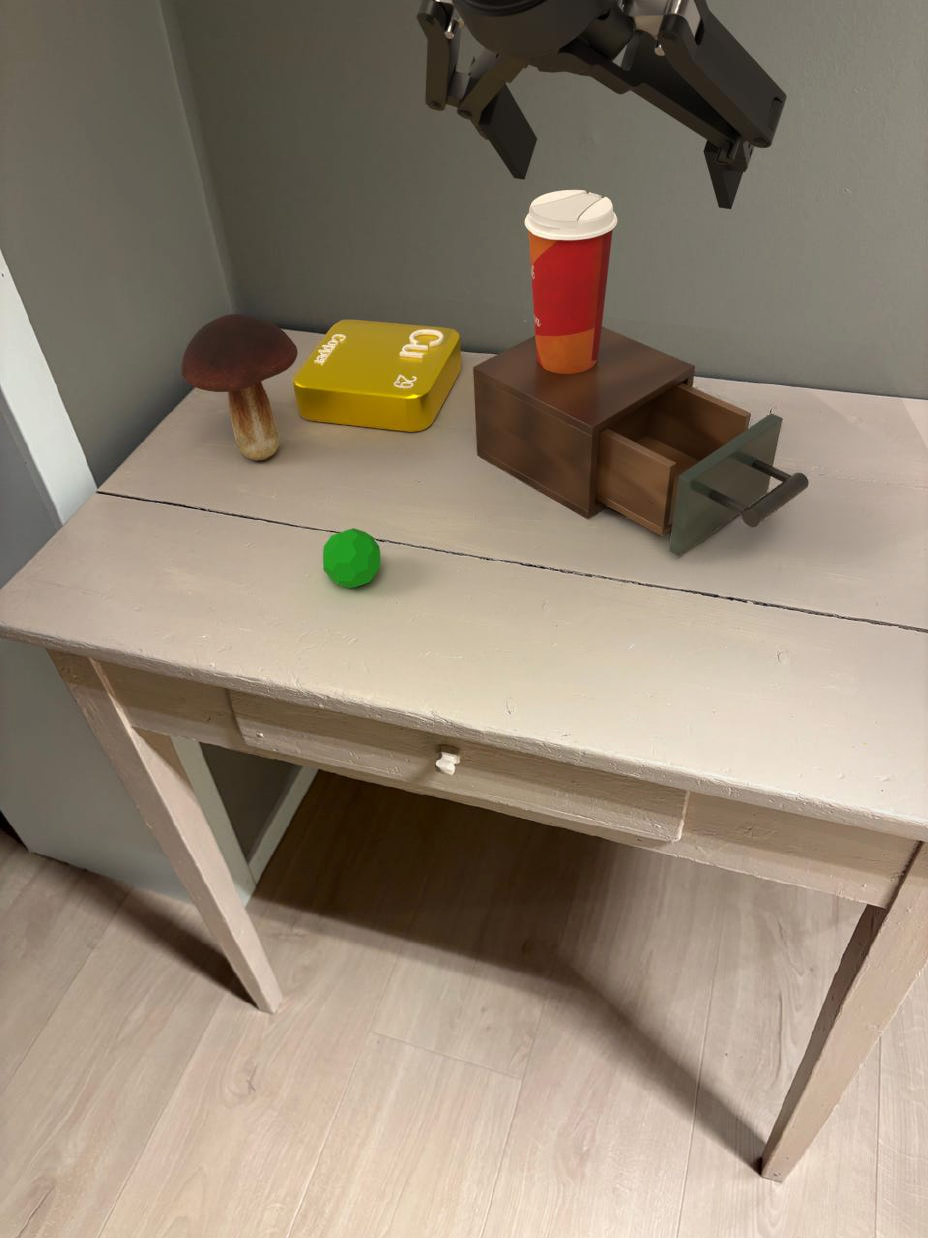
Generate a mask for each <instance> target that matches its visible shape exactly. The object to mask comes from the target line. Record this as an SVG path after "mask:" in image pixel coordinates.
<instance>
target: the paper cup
mask: <svg viewBox="0 0 928 1238" xmlns="http://www.w3.org/2000/svg"><path fill="white" fill-rule="evenodd" d="M617 224H618V217H617V215H616V213H615V212H614V205H613V203H612V200H611V199H610V198H609V197H607V196H604V197H602V195H601V194H597V193H594V192H588V193H587V191H586V190H582V189H565V190H564V189H563V190H556V191H552V192H548V193H544V194H542V195H540V196H538V197H536V198H535V199H533V201H531V204H530V206H529V210H528V214H526V217H525V218H524V226H525V228H526V229H527V230H528V241H529V242H528V243H529V244H528V245H529V257H530V260H529V261H530V275H531V276H530V277H531V291H532V292H531V293H532V307H533V309H532V310H533V321H534V336H535V340H536V352H537V360H538V363H539V365H540V366H541V367H543V368H544V369H546V370H548V371H551V372H554V373H560V374H574V373H580V372H583V371H586V370H588V369H590V368H592V367H593V366H594V365H595V364H596V362H597V358H598V352H599V345H600V337H601V328H602V327H603V320H604V310H605V302H606V301H605V300H606V293H607V285H608V275H609V265H610V259H611V258H610V256H611V247H612V241H613V231H614V228H615V227H616V226H617Z"/></svg>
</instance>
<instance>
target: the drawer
mask: <svg viewBox="0 0 928 1238" xmlns="http://www.w3.org/2000/svg"><path fill="white" fill-rule="evenodd" d="M751 417H752V413H751V412H750V411H747V410H745V409H742V408H740V407H738V406H736V405H734V404H731V403H730V402H727V401H725V400H722V399H720V398H718V397H716V396H714V395H711V394H709V393H706V392H704V391H702V390H700V389H697V388H695V387H694V386H693V387H691V386H688V385H686V384H684V383H682V382H681V383H679V384H677V385H676V386H674V387H672V388H671V389H669V390H667V391H666V392H664V393H662V394H661V395H659V396H658V397H656V398H654V399H653V400H651V401H649V402H648V403H646V404H644V405H643V406H641V407H639V408H638V409H636V410H634V411H633V412H631V413H629V414H628V415H626V416H624V417H623V418H621V419H619V420H618V421H616V422H614V423H613V424H611V425H609V426H608V427H606V428H605V429H603V430H601V431H600V432H599V439H598V457H597V475H596V493H595V499H596V500H598V501H600V502H602V503H603V504H605V505H607V507H609V508H611V509H612V510H614V511H616V512H618V513H620V514H621V515H623V516H625V517H627V518H629V519H630V520H632V521H634V522H635V523H638V524H639V525H641V526H642V527H644V528H646V529H648V530H650V531H652V532H653V533H654V534H657V535H658V536H661V537H663V536H664V535H666V534H668V533H669V532H670V537H669V538H670V540H669V545H668V546H669V548H668V552H670V553H671V554H673V555H675V556H676V557H678V558H681V557H682V556H684V555H685V554H687V553H688V552H690V550H692V549H693V548H694V547H696V546H697V545H699V544H700V543H701V542H703V541H705V540H706V539H707V538H708V537H709V536H711V535H712V534H714V533H715V532H717V531H718V530H719V529H720V528H722V527H723V526H725V525H726V524H727V523H728V522H730V521H731V520H732V519H734V518H735V517H737V516H739V515H741V518H742V521H743V522H744V523H745V524H746V525H747V526H748V527H750V528H756V527H758V526H759V525H760V524H762V523H763V522H764V521H766V520H767V519H768V518H770V517H771V516H772V515H773V514H775V513H776V512H778V511H779V510H780V509H782V508H783V507H784V506H786V505H787V504H788V503H789V502H791V501H792V500H793V499H795V498H796V497H798V495H800V494H802V493H803V492H804V491H805V490H806V489H808V487H809V484H810V483H809V478H808V476H807V475H806V474H804V473H802V472H795V473H793V474H789V473H787V472H786V471H783V470H781V469H779V468H777V467H774V463H775V460H776V459H775V457H776V453H777V449H778V443H779V441H780V440H779V439H780V435H781V431H782V430H781V429H782V426H783V420H784V419H783V417H782V416H779V415H776V414H775V413H770V414H768V415H767V416H765V417H764V418H762V419H761V420H759V421H758V422H756V423H755V424H753V425H752V426H750V423H751ZM771 478H773V479H775V480H777V481H779V482H781V483H779V484H778V485H777V486H775V487H774V488H772V489H771V490H769V486H770V482H771Z"/></svg>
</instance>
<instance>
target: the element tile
mask: <svg viewBox="0 0 928 1238" xmlns="http://www.w3.org/2000/svg"><path fill="white" fill-rule="evenodd" d="M461 348H462V347H461V336H460V333H459V332H458V331H457V330H456V329H454V328H449V327H441V326H431V325H419V324H417V325H416V324H410V323H409V324H408V323H396V322H385V321H372V320H362V319H341V320H339V321H338V322H336V323H335V324H333V325H332V326H331V327H330V328H329V329H328V331H327V332H326V333H325V335H324V336H323V337H322V338H321V340H320V341H319V342H318V344H317V345H316V347H314V349H313V350H312V352H311V353H310V354H309V355H308V357H307V358H306V359H305V361H304V362H303V363H302V364H301V365H300V367H299V368H298V370H297V371H296V373H294V375H293V377H292V386H293V393H294V396H295V401H296V402H295V403H296V407H297V412H298V414H299V416H300V417H301V418H302V419H304V420H307V421H311V422H318V423H326V424H328V423H329V424H336V425H344V426H354V427H362V428H363V427H364V428H370V429H371V428H372V429H380V430H386V431H387V430H389V431H397V432H406V433H416V432H421V431H424V430H426V429H428V428H429V427H431V425H433V423H434V421H435V419H436V418H437V416H438V414H439V412H440V410H441V408H442V407H443V405H444V402H445V401H446V399H447V397H448V396H449V393H450V391H451V389H452V388H453V386H454V384H455V382H456V380H457V379H458V376H459V374H460V373H461V370H462V367H463V366H462V350H461Z"/></svg>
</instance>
